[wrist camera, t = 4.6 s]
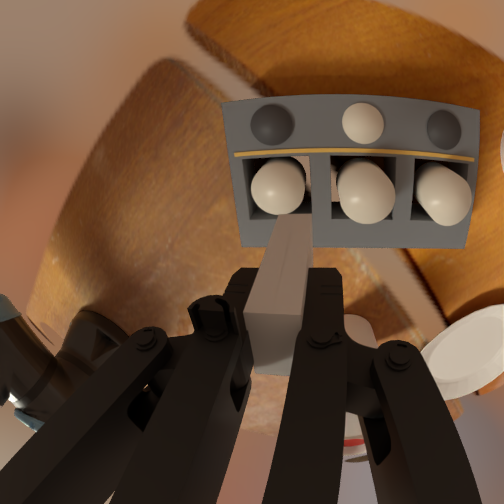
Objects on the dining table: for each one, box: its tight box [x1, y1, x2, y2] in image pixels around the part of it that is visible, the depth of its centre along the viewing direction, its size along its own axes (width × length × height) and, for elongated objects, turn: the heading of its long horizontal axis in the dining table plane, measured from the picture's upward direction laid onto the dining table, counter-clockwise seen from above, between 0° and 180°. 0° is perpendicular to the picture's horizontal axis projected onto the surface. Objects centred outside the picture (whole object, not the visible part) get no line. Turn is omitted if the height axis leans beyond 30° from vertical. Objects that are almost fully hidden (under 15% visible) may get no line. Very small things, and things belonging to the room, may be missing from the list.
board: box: [221, 94, 480, 249], centre depth 21 cm, size 20×12×4 cm, turn 97°
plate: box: [420, 304, 504, 400], centre depth 29 cm, size 21×21×2 cm
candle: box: [343, 435, 367, 456], centre depth 40 cm, size 9×9×6 cm
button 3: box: [413, 162, 472, 226], centre depth 18 cm, size 4×4×4 cm
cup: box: [344, 314, 378, 437], centre depth 27 cm, size 9×9×12 cm
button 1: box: [251, 156, 306, 215], centre depth 22 cm, size 4×4×4 cm
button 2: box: [336, 158, 395, 224], centre depth 20 cm, size 4×4×4 cm
